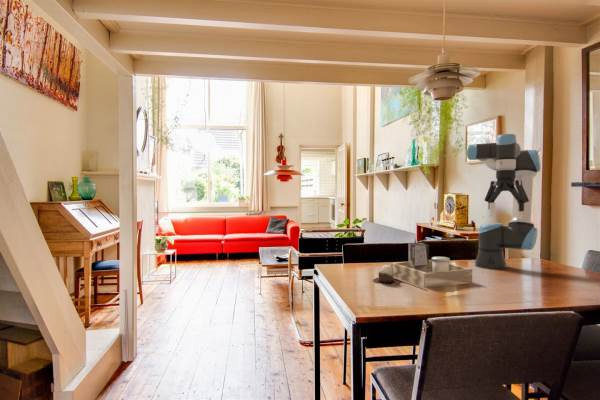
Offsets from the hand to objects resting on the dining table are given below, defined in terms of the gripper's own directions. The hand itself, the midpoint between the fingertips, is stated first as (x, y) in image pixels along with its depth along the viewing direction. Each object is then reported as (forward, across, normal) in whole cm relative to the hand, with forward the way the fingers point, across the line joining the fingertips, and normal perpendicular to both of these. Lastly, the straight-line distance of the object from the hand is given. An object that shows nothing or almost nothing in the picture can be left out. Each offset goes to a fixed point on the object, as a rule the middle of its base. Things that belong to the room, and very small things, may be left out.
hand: (505, 218), depth 163 cm
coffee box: (+28, -14, -35) cm, 47 cm away
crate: (+29, -14, -29) cm, 43 cm away
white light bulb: (+28, -14, -23) cm, 38 cm away
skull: (+29, -21, -47) cm, 59 cm away
